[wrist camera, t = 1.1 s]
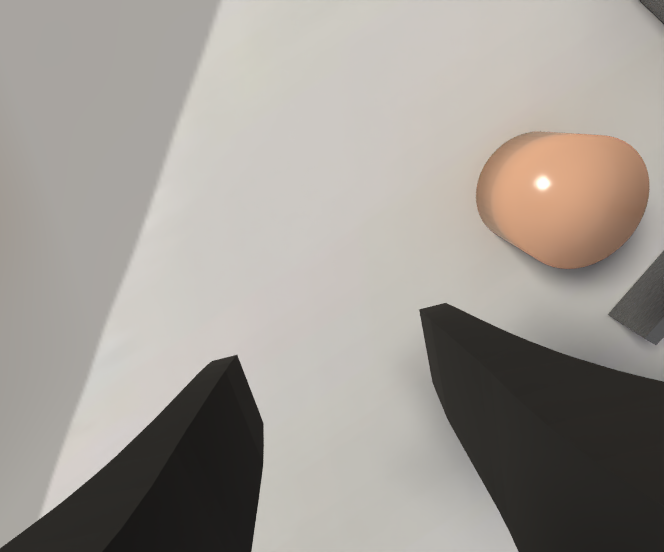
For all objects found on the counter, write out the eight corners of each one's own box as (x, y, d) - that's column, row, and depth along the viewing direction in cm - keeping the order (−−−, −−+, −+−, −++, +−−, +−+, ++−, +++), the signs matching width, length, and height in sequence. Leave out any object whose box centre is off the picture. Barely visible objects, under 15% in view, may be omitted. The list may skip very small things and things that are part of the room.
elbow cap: (582, 226, 20) (646, 251, 16) (481, 251, 20) (522, 282, 16) (580, 118, 18) (652, 119, 15) (469, 147, 18) (512, 155, 15)
